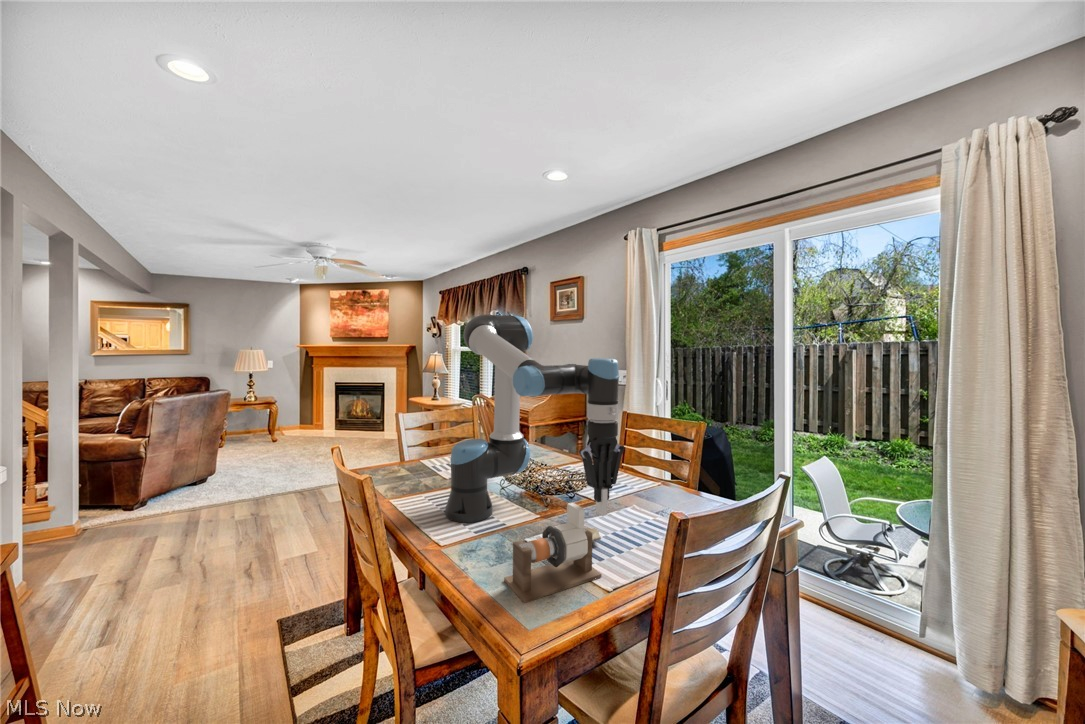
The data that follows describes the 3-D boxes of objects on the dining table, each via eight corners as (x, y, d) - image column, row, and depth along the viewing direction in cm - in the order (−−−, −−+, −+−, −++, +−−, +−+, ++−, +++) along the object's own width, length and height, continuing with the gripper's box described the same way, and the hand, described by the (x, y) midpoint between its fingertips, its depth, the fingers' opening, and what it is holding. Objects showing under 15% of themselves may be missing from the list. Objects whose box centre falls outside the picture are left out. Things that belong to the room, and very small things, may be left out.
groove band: (539, 553, 105) (540, 534, 105) (550, 562, 101) (550, 542, 101) (526, 557, 103) (526, 537, 103) (536, 566, 99) (536, 546, 99)
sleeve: (568, 548, 111) (569, 500, 111) (587, 562, 104) (588, 511, 104) (548, 554, 108) (548, 504, 108) (566, 569, 101) (567, 516, 101)
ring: (545, 555, 108) (546, 521, 108) (565, 571, 101) (565, 534, 100) (541, 556, 108) (541, 522, 107) (560, 573, 100) (560, 536, 100)
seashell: (549, 542, 124) (550, 532, 124) (575, 529, 133) (575, 519, 132) (583, 556, 116) (583, 545, 116) (608, 541, 125) (608, 531, 125)
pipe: (579, 542, 111) (579, 525, 110) (589, 550, 107) (590, 532, 107) (515, 560, 101) (515, 541, 101) (524, 568, 98) (524, 549, 97)
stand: (577, 559, 114) (578, 521, 114) (601, 577, 105) (602, 536, 105) (504, 580, 103) (504, 539, 103) (524, 602, 95) (524, 557, 94)
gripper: (590, 425, 103) (589, 523, 104) (632, 420, 110) (631, 513, 111) (572, 420, 110) (571, 513, 111) (613, 416, 116) (612, 503, 117)
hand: (601, 513), depth 111 cm, fingers closed
